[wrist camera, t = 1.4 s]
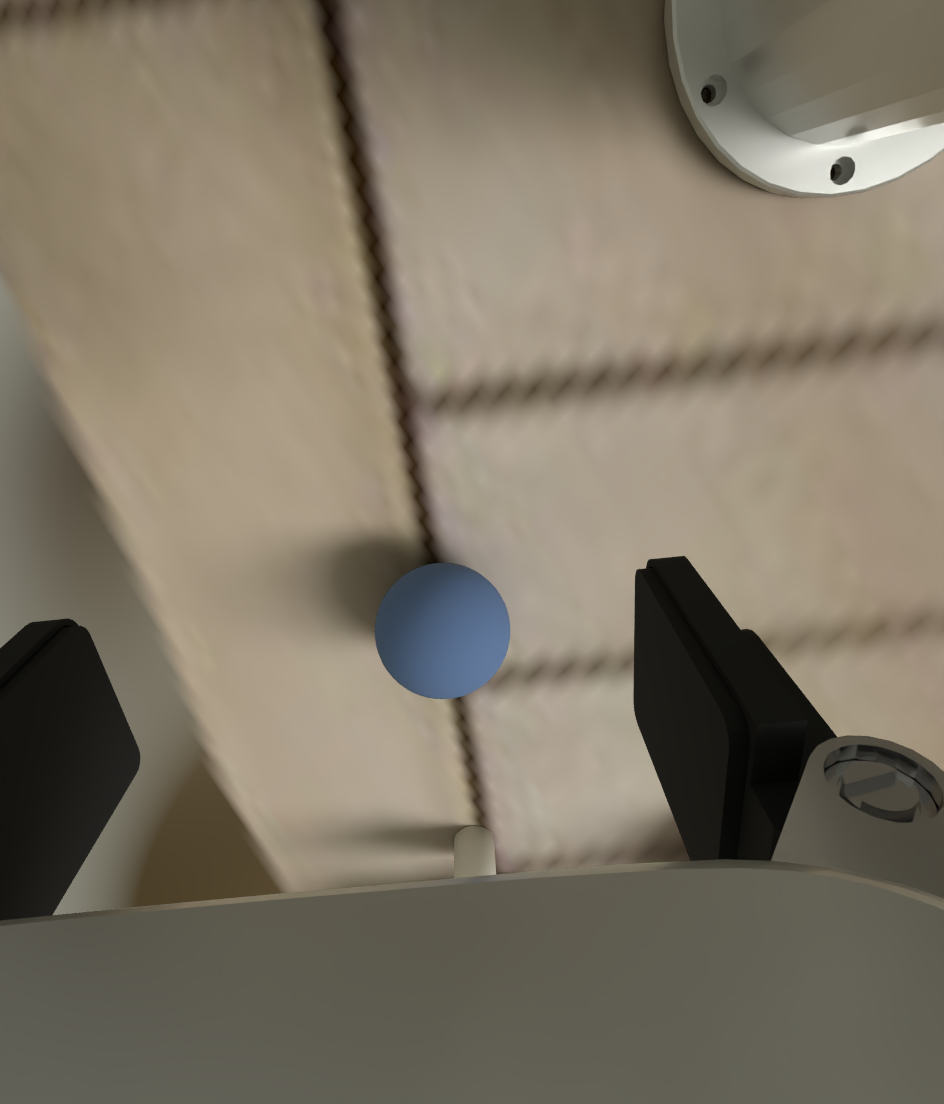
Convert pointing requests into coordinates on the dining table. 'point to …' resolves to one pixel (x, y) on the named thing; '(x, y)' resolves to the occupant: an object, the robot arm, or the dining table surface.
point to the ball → (442, 630)
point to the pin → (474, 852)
